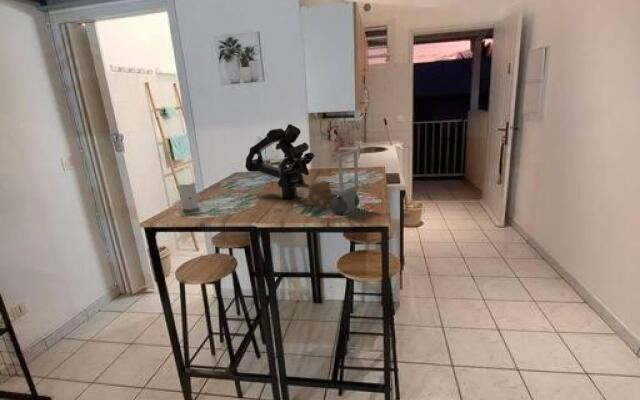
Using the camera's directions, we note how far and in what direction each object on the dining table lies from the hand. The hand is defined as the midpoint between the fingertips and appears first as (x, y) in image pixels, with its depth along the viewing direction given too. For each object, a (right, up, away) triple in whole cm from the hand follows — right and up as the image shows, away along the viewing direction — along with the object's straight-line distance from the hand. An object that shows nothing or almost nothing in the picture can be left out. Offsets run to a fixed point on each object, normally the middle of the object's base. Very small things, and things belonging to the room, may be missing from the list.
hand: (308, 174), depth 157 cm
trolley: (+16, -16, -14) cm, 27 cm away
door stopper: (-8, -3, +38) cm, 39 cm away
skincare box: (-56, -16, +6) cm, 58 cm away
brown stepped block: (+6, -13, -1) cm, 15 cm away
